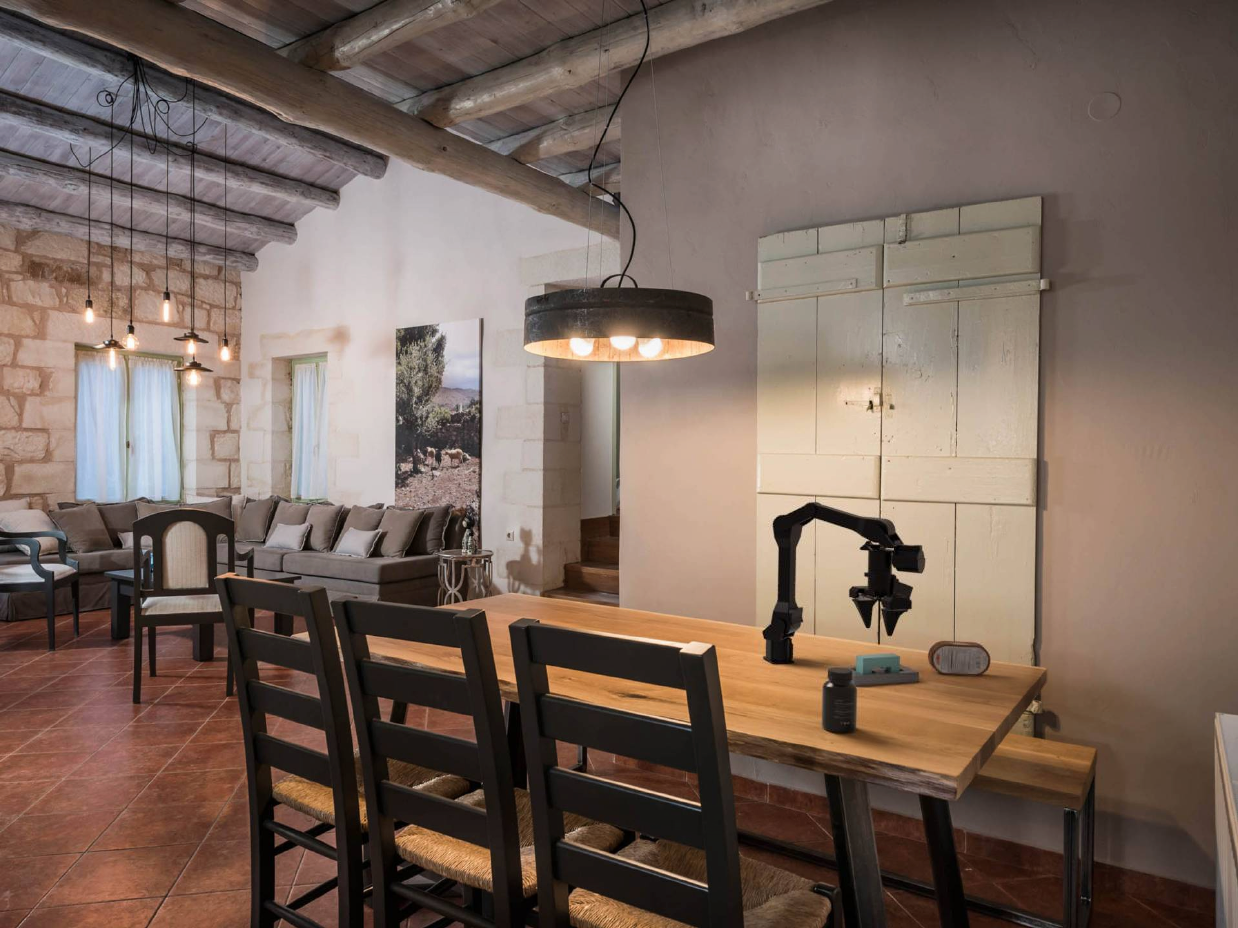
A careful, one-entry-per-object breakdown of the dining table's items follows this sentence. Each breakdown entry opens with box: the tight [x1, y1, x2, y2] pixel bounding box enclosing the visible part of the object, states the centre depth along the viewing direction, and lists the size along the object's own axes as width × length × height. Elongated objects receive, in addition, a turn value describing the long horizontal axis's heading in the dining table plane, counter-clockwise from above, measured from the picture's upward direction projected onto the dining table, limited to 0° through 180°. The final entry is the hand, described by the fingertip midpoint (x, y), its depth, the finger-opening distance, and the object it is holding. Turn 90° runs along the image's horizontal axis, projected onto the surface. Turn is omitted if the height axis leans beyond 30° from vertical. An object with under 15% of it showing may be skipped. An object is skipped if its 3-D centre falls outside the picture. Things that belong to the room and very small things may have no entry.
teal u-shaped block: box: [855, 652, 901, 674], centre depth 199 cm, size 10×3×6 cm, turn 106°
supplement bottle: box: [821, 666, 858, 735], centre depth 162 cm, size 7×7×12 cm
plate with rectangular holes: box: [841, 663, 920, 687], centre depth 199 cm, size 18×8×2 cm, turn 106°
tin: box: [927, 640, 991, 677], centre depth 205 cm, size 15×3×8 cm, turn 84°
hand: (878, 631), depth 199 cm, fingers open, 9 cm apart
